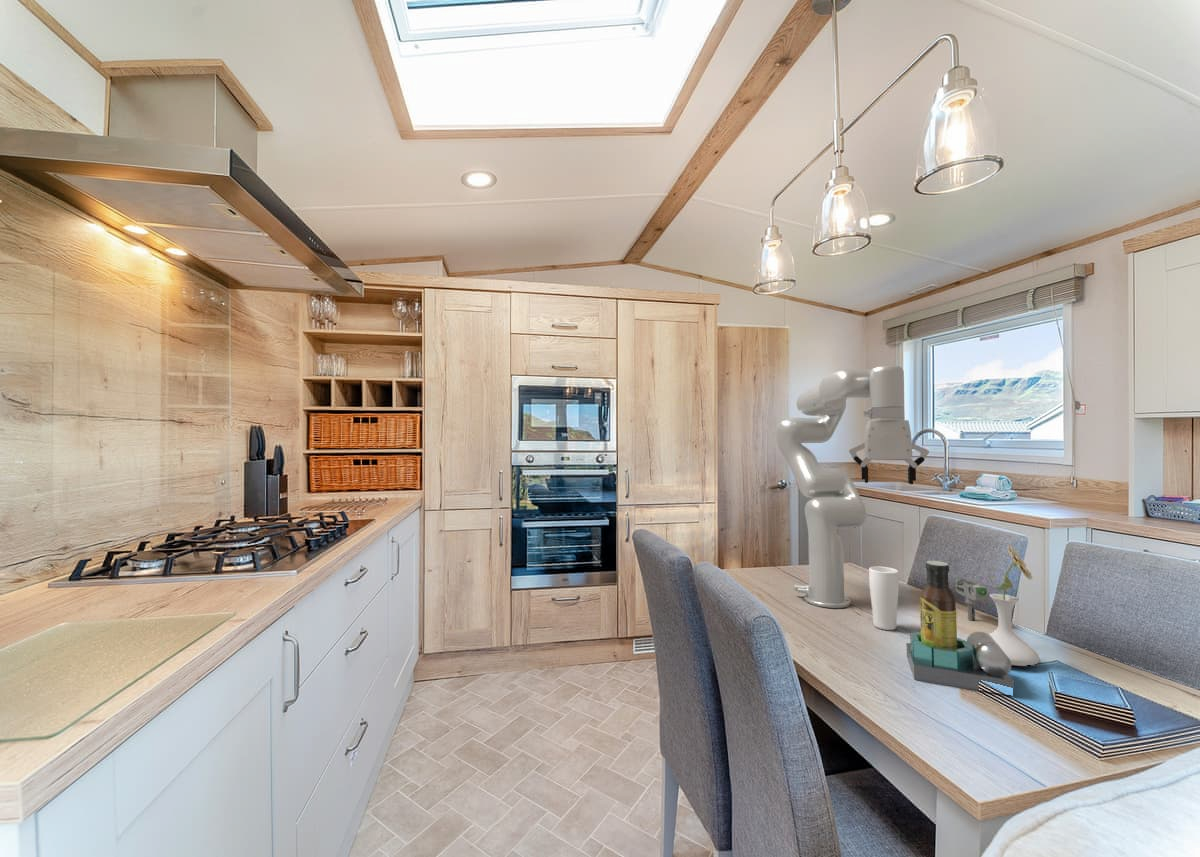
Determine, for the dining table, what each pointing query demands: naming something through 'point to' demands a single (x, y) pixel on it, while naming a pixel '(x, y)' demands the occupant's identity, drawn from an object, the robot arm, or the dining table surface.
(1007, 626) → the flower in vase
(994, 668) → the base
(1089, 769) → the dining table surface
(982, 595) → the mechanical component
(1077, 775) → the dining table surface
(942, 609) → the sauce bottle
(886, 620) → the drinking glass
